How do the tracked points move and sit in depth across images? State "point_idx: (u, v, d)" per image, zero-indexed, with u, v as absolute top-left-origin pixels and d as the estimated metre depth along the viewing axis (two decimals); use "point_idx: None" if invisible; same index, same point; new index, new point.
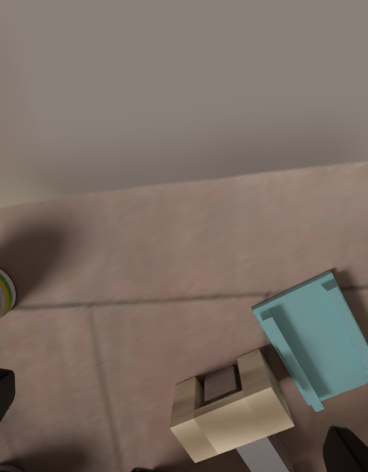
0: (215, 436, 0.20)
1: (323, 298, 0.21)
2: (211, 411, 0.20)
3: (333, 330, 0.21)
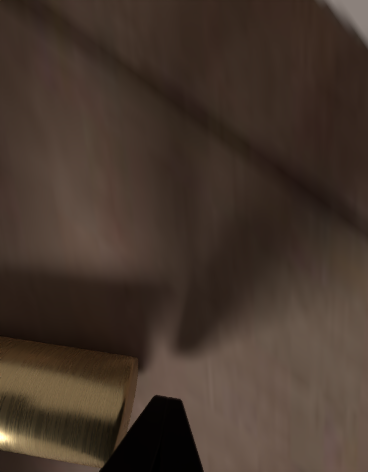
0: None
1: None
2: None
3: None
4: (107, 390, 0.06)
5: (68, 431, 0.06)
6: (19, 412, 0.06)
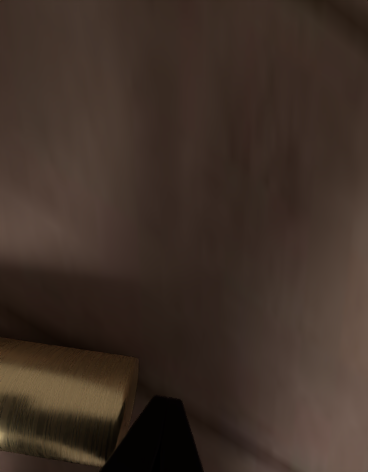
0: None
1: None
2: None
3: None
4: (108, 390, 0.06)
5: (69, 431, 0.06)
6: (21, 413, 0.06)
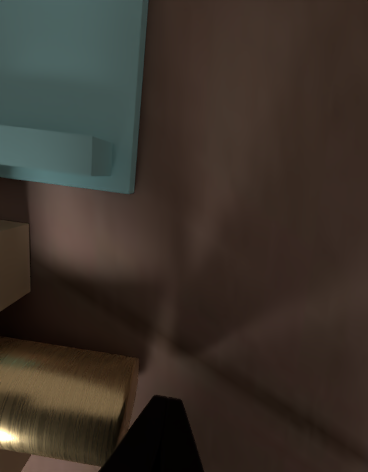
0: None
1: None
2: None
3: None
4: (109, 390, 0.06)
5: (70, 430, 0.06)
6: (22, 412, 0.06)
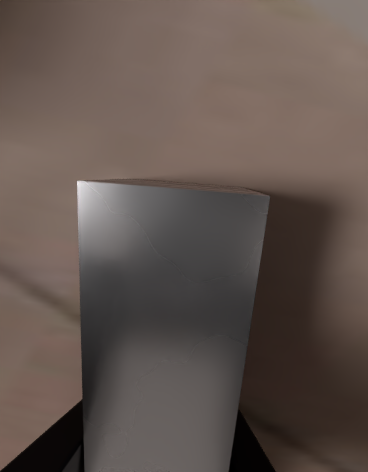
0: None
1: None
2: None
3: None
4: None
5: None
6: None
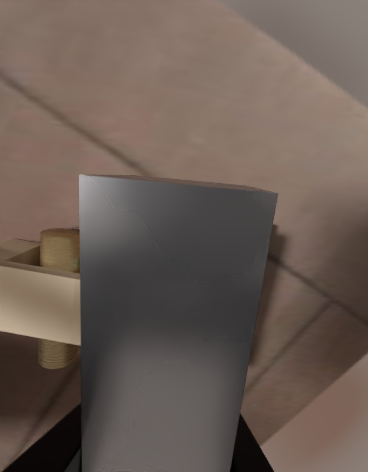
0: (7, 305, 0.14)
1: None
2: (23, 270, 0.14)
3: None
4: (69, 360, 0.17)
5: (55, 356, 0.17)
6: None
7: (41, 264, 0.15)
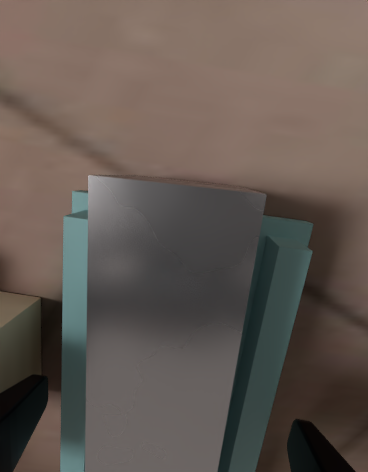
0: None
1: None
2: None
3: None
4: None
5: None
6: None
7: None
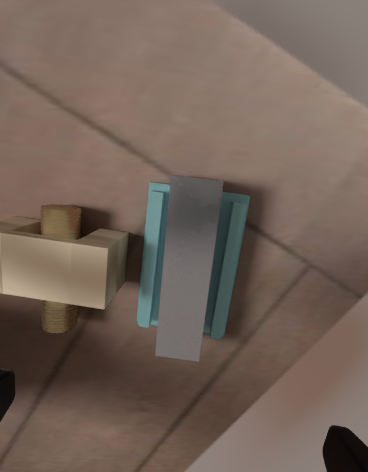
0: (12, 270, 0.16)
1: (225, 218, 0.18)
2: (25, 237, 0.15)
3: None
4: (70, 325, 0.19)
5: (57, 320, 0.18)
6: (60, 305, 0.18)
7: None
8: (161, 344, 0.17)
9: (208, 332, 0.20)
